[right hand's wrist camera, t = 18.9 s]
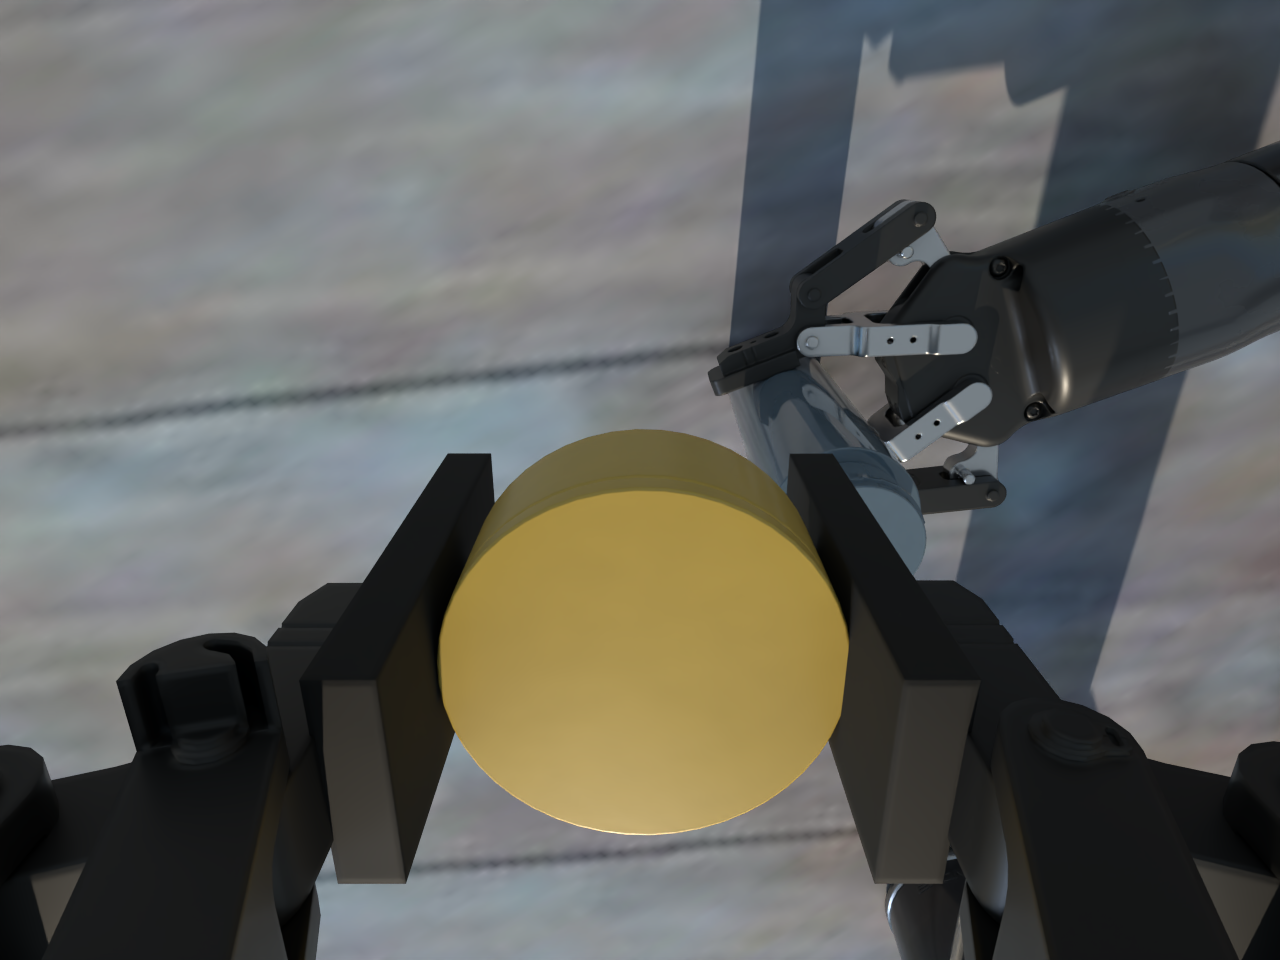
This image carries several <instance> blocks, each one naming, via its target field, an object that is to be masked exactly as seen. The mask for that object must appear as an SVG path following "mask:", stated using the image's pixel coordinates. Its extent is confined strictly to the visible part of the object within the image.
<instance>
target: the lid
mask: <svg viewBox="0 0 1280 960" xmlns="http://www.w3.org/2000/svg"><path fill="white" fill-rule="evenodd" d="M848 649H849V633H848V627H847V623H846V620H845V617H844V614H843V611H842V608H841V605H840V602H839V600H838V598H837V595H836V593H835V591H834V589H833V586H832V584H831V582H830V580H829V577H828V575H827V573H826V571H825V568H824V566H823V564H822V562H821V559H820V557H819V555H818V553H817V550H816V548H815V546H814V544H813V541H812V539H811V537H810V535H809V532H808V530H807V528H806V526H805V524H804V522H803V520H802V518H801V516H800V514H799V512H798V511H797V509H796V507H795V506H794V505H793V503H792V502H791V500H790V499H789V498H788V496H787V495H786V494H785V492H784V491H783V490H782V489H781V488H780V487H779V486H778V485H777V484H776V483H775V482H774V481H773V480H772V478H771V477H770V476H769V475H767V474H766V473H765V472H764V471H762V470H761V469H760V468H758V467H757V466H756V465H755V464H753V463H752V462H751V461H749V460H747V459H746V458H744V457H742V456H741V455H739V454H737V453H736V452H734V451H732V450H731V449H728V448H726V447H723V446H721V445H719V444H716V443H714V442H712V441H709V440H706V439H703V438H699V437H696V436H692V435H689V434H685V433H678V432H672V431H665V430H644V429H635V430H625V431H615V432H609V433H604V434H600V435H596V436H591V437H587V438H585V439H582V440H579V441H577V442H574V443H571V444H568V445H566V446H564V447H562V448H560V449H558V450H556V451H554V452H552V453H550V454H548V455H547V456H545V457H543V458H542V459H540V460H539V461H538V462H536V463H535V464H533V465H532V466H530V467H529V468H528V469H526V470H525V471H524V472H523V473H522V474H521V475H520V476H519V477H518V478H516V479H515V480H514V481H513V482H512V483H511V484H510V485H509V486H508V487H507V489H506V490H505V491H504V492H503V494H502V495H501V496H500V497H499V499H498V500H497V501H496V502H495V504H494V506H493V507H492V509H491V511H490V512H489V514H488V516H487V517H486V519H485V521H484V523H483V526H482V528H481V530H480V532H479V535H478V537H477V539H476V541H475V544H474V546H473V548H472V551H471V553H470V555H469V557H468V560H467V562H466V564H465V566H464V569H463V571H462V573H461V576H460V578H459V580H458V582H457V585H456V587H455V589H454V591H453V594H452V596H451V599H450V601H449V604H448V606H447V609H446V611H445V613H444V617H443V621H442V625H441V629H440V634H439V638H438V651H437V669H438V681H439V687H440V691H441V695H442V699H443V703H444V707H445V710H446V712H447V714H448V717H449V719H450V722H451V724H452V727H453V729H454V731H455V732H456V734H457V736H458V737H459V739H460V741H461V743H462V744H463V746H464V748H465V749H466V750H467V751H468V753H469V754H470V755H471V757H472V758H473V759H474V760H475V762H476V763H477V764H478V765H479V766H480V767H481V768H482V769H483V770H484V771H485V772H486V773H487V774H488V775H489V776H490V777H491V778H492V779H493V780H494V781H495V782H496V783H497V784H499V785H500V786H501V787H502V788H504V789H505V790H506V791H508V792H509V793H510V794H511V795H513V796H514V797H516V798H518V799H519V800H521V801H522V802H524V803H526V804H527V805H529V806H531V807H532V808H534V809H536V810H539V811H541V812H543V813H545V814H547V815H549V816H552V817H554V818H556V819H559V820H562V821H565V822H568V823H571V824H574V825H577V826H580V827H585V828H589V829H593V830H598V831H602V832H611V833H619V834H629V835H657V834H670V833H679V832H684V831H690V830H695V829H701V828H704V827H707V826H711V825H714V824H718V823H721V822H724V821H727V820H729V819H732V818H734V817H737V816H739V815H742V814H744V813H746V812H748V811H750V810H752V809H754V808H755V807H757V806H759V805H761V804H763V803H765V802H767V801H768V800H769V799H771V798H772V797H774V796H775V795H777V794H778V793H779V792H781V791H782V790H784V789H785V788H786V787H788V786H789V785H790V784H791V783H792V782H793V781H794V780H795V779H797V778H798V777H799V776H800V775H801V774H802V773H803V772H804V771H805V770H806V769H807V768H808V767H809V765H810V764H811V763H812V762H813V761H814V760H815V759H816V757H817V756H818V755H819V753H820V752H821V750H822V749H823V747H824V746H825V744H826V743H827V741H828V740H829V738H830V737H831V735H832V733H833V731H834V729H835V727H836V725H837V722H838V720H839V718H840V716H841V709H842V702H843V693H844V684H845V676H846V667H847V658H848Z"/></svg>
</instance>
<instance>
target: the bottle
mask: <svg viewBox="0 0 1280 960" xmlns="http://www.w3.org/2000/svg"><path fill="white" fill-rule="evenodd" d="M799 362H800V365H801V366H799V367H796V368H794V369H791V370H788V371H786V372H783V373H780V374H777V375H775V376H772V377H770V378H767V379H765V380H762V381H759V382H757V383H754V384H751V385H749V386H746V387H743V388H741V389H738V390H736V391H733V392H730V393H728V395H729V398H730V402H731V405H732V408H733V412H734V415H735V418H736V422H737V425H738V428H739V432H740V435H741V438H742V442H743V445H744V448H745V452H746V455H747V458H748V460H749V461H751V462H752V463H753V464H755V465H756V466H757V467H758V468H760V469H761V470H762V471H764V472H765V473H766V474H767V475H769V476H770V477H771V478H772V480H773V481H774V482H775V483H776V484H777V485H778V486H779V487H780V488H781V489H782V490H783V491H784V492H785V494H786V495H787V481H788V468H789V455H790V454H833V455H834V456H835V458H836V459H837V461H838V462H839V464H840V465H841V467H842V468H843V470H844V472H845V473H846V475H847V476H848V478H849V479H850V481H851V482H852V484H853V485H854V487H855V488H856V490H857V491H858V493H859V494H860V496H861V497H862V499H863V500H864V502H865V503H866V505H867V507H868V508H869V510H870V511H871V513H872V514H873V516H874V517H875V519H876V520H877V522H878V523H879V525H880V526H881V528H882V529H883V531H884V532H885V534H886V535H887V537H888V538H889V540H890V542H891V543H892V545H893V546H894V548H895V549H896V551H897V552H898V554H899V555H900V557H901V558H902V560H903V561H904V563H905V564H906V566H907V567H908V569H909V570H910V572H911V574H912V575H914V574H915V572H916V571H917V569H918V568H919V566H920V564H921V562H922V559H923V556H924V553H925V548H926V530H925V526H924V523H925V521H924V518H923V515H922V513H921V504H920V497H919V493H918V490H917V487H916V485H915V483H914V481H913V479H912V478H911V476H910V474H909V473H908V472H907V471H906V469H905V468H904V467H903V466H902V464H901V463H900V462H899V461H898V460H897V458H896V457H895V456H894V455H893V453H892V452H891V451H890V450H889V448H888V447H887V446H886V445H885V443H884V442H883V441H882V440H881V438H880V437H879V436H878V435H877V434H876V432H875V431H874V430H873V429H872V427H871V426H870V425H869V424H868V422H867V421H866V420H865V419H864V417H863V416H862V415H861V414H860V412H859V411H858V410H857V409H856V408H855V406H854V405H853V404H852V403H851V401H850V400H849V399H848V398H847V396H846V395H845V394H844V393H843V391H842V390H841V389H840V388H839V386H838V385H837V384H836V383H835V382H834V380H833V379H832V378H831V377H830V375H829V374H828V373H827V372H826V370H825V369H824V368H823V367H822V365H821V364H820V363H819V362H818V360H817V359H816V358H815V357H807V356H806V357H803V358H800V359H799Z"/></svg>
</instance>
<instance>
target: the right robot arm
mask: <svg viewBox="0 0 1280 960" xmlns="http://www.w3.org/2000/svg"><path fill="white" fill-rule="evenodd" d="M787 496H788V498H789V499H790V500H791V502H792V503H793V505H794V506H795V507H796V509H797V511H798V512H799V514H800V516H801V518H802V520H803V522H804V524H805V526H806V528H807V530H808V532H809V535H810V537H811V539H812V541H813V544H814V546H815V548H816V550H817V553H818V555H819V557H820V559H821V562H822V564H823V566H824V568H825V571H826V573H827V575H828V577H829V580H830V582H831V584H832V586H833V589H834V591H835V593H836V595H837V598H838V600H839V602H840V605H841V608H842V611H843V614H844V617H845V620H846V623H847V627H848V633H849V649H848V658H847V667H846V676H845V684H844V693H843V702H842V709H841V716H840V718H839V720H838V722H837V725H836V727H835V729H834V731H833V733H832V735H831V737H830V738H829V740H828V741H829V744H830V747H831V750H832V753H833V756H834V760H835V763H836V766H837V769H838V772H839V775H840V778H841V781H842V784H843V787H844V790H845V793H846V797H847V800H848V803H849V806H850V809H851V812H852V815H853V818H854V821H855V824H856V827H857V831H858V834H859V837H860V840H861V843H862V846H863V849H864V852H865V855H866V858H867V861H868V864H869V868H870V871H871V874H872V877H873V880H874V883H875V884H943V878H944V873H945V868H946V863H947V858H948V852H949V847H950V845H951V847H952V849H953V851H954V853H955V856H956V858H957V860H958V862H959V865H960V867H961V869H962V871H963V873H964V876H965V878H966V880H965V885H964V890H963V895H962V900H961V904H960V909H959V914H958V919H957V924H956V929H955V933H954V938H953V943H952V948H951V955H950V960H962V956H963V951H964V958H965V960H1280V742H1275V741H1272V742H1265V743H1257V744H1251V745H1250V746H1248V747H1247V748H1246V749H1245V750H1243V751H1242V752H1241V753H1239V755H1238V758H1237V761H1236V764H1235V767H1234V769H1233V772H1232V775H1231V777H1228V776H1223V775H1218V774H1213V773H1209V772H1204V771H1199V770H1194V769H1190V768H1185V767H1180V766H1175V765H1170V764H1166V763H1162V762H1158V761H1155V760H1151V759H1147V757H1146V755H1145V753H1144V751H1143V749H1142V748H1141V747H1140V745H1139V744H1138V743H1137V741H1136V740H1135V739H1134V737H1133V736H1132V735H1131V733H1129V732H1128V731H1127V730H1125V729H1124V728H1123V727H1121V726H1120V725H1119V724H1117V723H1116V722H1114V721H1113V720H1112V719H1110V718H1109V717H1107V716H1105V715H1103V714H1100V713H1098V712H1096V711H1094V710H1092V709H1090V708H1087V707H1085V706H1083V705H1079V704H1075V703H1071V702H1067V701H1063V700H1061V699H1060V698H1059V697H1058V695H1057V694H1056V693H1055V692H1054V690H1053V689H1052V688H1051V687H1050V685H1049V684H1048V683H1047V681H1046V680H1045V679H1044V678H1043V676H1042V675H1041V674H1040V672H1039V671H1038V670H1037V669H1036V667H1035V666H1034V665H1033V663H1032V662H1031V661H1030V660H1029V658H1028V657H1027V656H1026V654H1025V653H1024V652H1023V651H1022V649H1021V648H1020V647H1019V646H1018V644H1014V642H1013V638H1012V637H1011V635H1010V634H1009V633H1008V631H1007V630H1006V629H1005V628H1004V626H1003V625H999V620H998V619H997V617H996V616H995V615H994V613H993V612H992V611H991V610H990V608H989V607H988V606H987V604H986V603H985V602H984V601H983V599H981V598H980V597H978V596H977V595H975V594H974V593H972V592H970V591H969V590H967V589H966V588H964V587H963V586H961V585H959V584H958V583H956V582H955V581H916V580H915V578H914V577H913V575H912V574H911V572H910V570H909V569H908V567H907V566H906V564H905V563H904V561H903V560H902V558H901V557H900V555H899V554H898V552H897V551H896V549H895V548H894V546H893V545H892V543H891V542H890V540H889V538H888V537H887V535H886V534H885V532H884V531H883V529H882V528H881V526H880V525H879V523H878V522H877V520H876V519H875V517H874V516H873V514H872V513H871V511H870V510H869V508H868V507H867V505H866V503H865V502H864V500H863V499H862V497H861V496H860V494H859V493H858V491H857V490H856V488H855V487H854V485H853V484H852V482H851V481H850V479H849V478H848V476H847V475H846V473H845V472H844V470H843V468H842V467H841V465H840V464H839V462H838V461H837V459H836V458H835V456H834V455H833V454H790V455H789V468H788V481H787ZM494 504H495V501H494V488H493V474H492V461H491V454H447V456H446V457H445V459H444V460H443V462H442V463H441V465H440V466H439V468H438V469H437V471H436V472H435V474H434V475H433V477H432V478H431V480H430V481H429V483H428V485H427V486H426V488H425V489H424V491H423V492H422V494H421V495H420V497H419V498H418V500H417V501H416V503H415V504H414V506H413V507H412V509H411V510H410V512H409V513H408V515H407V516H406V518H405V520H404V521H403V523H402V524H401V526H400V527H399V529H398V530H397V532H396V533H395V535H394V536H393V538H392V539H391V541H390V542H389V544H388V545H387V547H386V548H385V550H384V552H383V553H382V555H381V556H380V558H379V559H378V561H377V562H376V564H375V565H374V567H373V568H372V570H371V571H370V573H369V574H368V576H367V577H366V579H365V580H364V582H363V583H327V584H325V585H324V586H322V587H321V588H319V589H318V590H316V591H315V592H313V593H312V594H310V595H308V596H307V597H305V598H304V599H302V600H301V601H299V602H298V603H297V605H296V606H295V607H294V609H293V610H292V611H291V612H290V614H289V615H288V616H287V618H286V619H285V620H284V621H283V623H282V628H278V629H277V630H276V632H275V633H274V634H273V636H272V637H271V638H270V640H269V641H268V646H265V645H264V644H262V643H261V642H260V641H259V640H257V639H256V638H255V637H252V636H247V635H242V634H238V633H214V634H205V635H201V636H196V637H192V638H187V639H182V640H179V641H177V642H174V643H172V644H169V645H167V646H164V647H162V648H159V649H156V650H154V651H152V652H151V653H149V654H147V655H146V656H144V657H143V658H141V659H139V660H138V661H136V662H135V663H133V664H132V665H130V666H129V667H128V669H127V670H126V671H125V672H124V673H123V674H122V675H121V676H120V678H119V679H118V680H117V681H116V683H117V686H118V689H119V693H120V696H121V700H122V703H123V706H124V710H125V713H126V717H127V720H128V723H129V727H130V730H131V733H132V737H133V740H134V744H135V747H136V750H137V752H136V754H135V757H134V759H133V761H132V762H131V763H128V764H124V765H121V766H117V767H112V768H108V769H103V770H98V771H93V772H89V773H84V774H79V775H74V776H70V777H65V778H60V779H55V780H51V779H50V776H49V773H48V770H47V767H46V764H45V762H44V759H43V757H42V756H41V755H39V754H38V753H37V752H35V751H34V750H33V749H32V748H29V747H21V746H14V745H3V746H0V960H316V952H317V943H318V934H319V925H320V917H321V914H320V907H319V900H318V895H317V890H316V885H315V881H316V879H317V877H318V874H319V872H320V870H321V868H322V865H323V863H324V861H325V859H326V857H327V854H328V852H329V850H330V848H331V850H332V855H333V860H334V865H335V871H336V876H337V881H338V884H406V882H407V878H408V875H409V872H410V869H411V866H412V863H413V860H414V857H415V854H416V851H417V848H418V844H419V841H420V838H421V835H422V832H423V829H424V826H425V823H426V820H427V817H428V814H429V811H430V807H431V804H432V801H433V798H434V795H435V792H436V789H437V786H438V783H439V780H440V777H441V773H442V770H443V767H444V764H445V761H446V758H447V755H448V752H449V749H450V746H451V743H452V740H453V736H454V733H455V731H454V729H453V727H452V724H451V722H450V719H449V717H448V714H447V712H446V710H445V707H444V703H443V699H442V695H441V691H440V687H439V681H438V669H437V651H438V638H439V634H440V629H441V625H442V621H443V617H444V613H445V611H446V609H447V606H448V604H449V601H450V599H451V596H452V594H453V591H454V589H455V587H456V585H457V582H458V580H459V578H460V576H461V573H462V571H463V569H464V566H465V564H466V562H467V560H468V557H469V555H470V553H471V551H472V548H473V546H474V544H475V541H476V539H477V537H478V535H479V532H480V530H481V528H482V526H483V523H484V521H485V519H486V517H487V516H488V514H489V512H490V511H491V509H492V507H493V506H494Z"/></svg>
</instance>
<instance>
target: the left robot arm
mask: <svg viewBox="0 0 1280 960" xmlns="http://www.w3.org/2000/svg"><path fill="white" fill-rule="evenodd" d="M935 221H936V212H935V210H934V208H933V207H932V206H931V205H930V204H928V203H926V202H919V201H912V200H899V201H897V202H895V203H894V204H892V205H891V206H889V207H888V208H887V209H885V210H884V211H882V212H881V213H880V214H878V215H877V216H876V217H874V218H873V219H871V220H870V221H869V222H867V223H866V224H865V225H863V226H862V227H860V228H859V229H858V230H856V231H855V232H854V233H852V234H851V235H849V236H848V237H847V238H845V239H844V240H843V241H841V242H840V243H838V244H837V245H836V246H834V247H833V248H832V249H830V250H829V251H827V252H826V253H825V254H823V255H822V256H821V257H819V258H818V259H816V260H815V261H814V262H812V263H811V264H810V265H808V266H807V267H805V268H804V269H803V270H801V271H800V272H799V273H797V274H796V275H795V276H794V277H793V278H792V279H791V282H790V286H789V288H790V292H791V311H790V316H789V318H788V320H787V322H786V323H785V324H784V325H783V326H781V327H780V328H778V329H775V330H773V331H770V332H767V333H765V334H762V335H760V336H757V337H755V338H752V339H749V340H748V341H744V342H742V343H740V344H737V345H734V346H731V347H729V348H726V349H725V350H724V351H723V352H722V353H721V354H720V355H719V356H717V360H718V363H719V366H717V367H715V368H713V369H711V370H710V371H709V372H708V376H709V380H710V383H711V385H712V388H713V391H714V393H715V395H716V396H721V395H725V394H728V393H730V392H733V391H736V390H738V389H741V388H743V387H746V386H749V385H751V384H754V383H757V382H759V381H762V380H765V379H767V378H770V377H772V376H775V375H777V374H780V373H783V372H786V371H788V370H791V369H794V368H796V367H799V366H801V365H800V362H799V359H800V358H803V357H806V356H807V357H822V356H842V355H855V356H860V357H875V360H876V361H877V363H878V364H879V366H880V367H881V369H882V370H883V372H884V374H885V393H886V396H887V400H888V404H886V405H885V406H884V407H882V408H881V409H880V410H878V411H877V412H876V413H874V414H873V415H872V416H871V417H870V418H869V419H868V421H867V422H868V424H869V425H870V426H871V427H872V429H873V430H874V431H875V432H876V434H877V435H878V436H879V437H880V438H881V440H882V441H883V442H884V443H885V445H886V446H887V447H888V448H889V450H890V451H891V452H892V453H893V455H894V456H895V457H896V458H897V460H898V461H899V462H900V463H901V462H905V461H907V460H909V459H911V458H912V457H914V456H915V455H916V454H918V453H919V452H920V451H922V450H923V449H925V448H926V447H927V446H929V445H930V444H931V443H933V442H934V441H936V440H937V439H938V438H940V437H943V438H947V439H951V440H956V441H960V442H964V443H968V444H969V445H968V447H967V448H966V449H965V450H964V451H963V452H961V453H959V454H955V455H952V456H950V457H948V458H947V459H946V461H945V463H944V465H943V466H936V467H927V468H918V469H908V470H906V471H907V472H908V473H909V474H910V476H911V478H912V479H913V481H914V483H915V485H916V487H917V490H918V493H919V497H920V504H921V513H922V515H924V514H934V513H943V512H953V511H962V510H972V509H982V508H991V507H996V506H998V505H1000V504H1001V503H1002V502H1003V501H1004V499H1005V497H1006V488H1005V487H1004V486H1003V485H1002V484H1001V483H1000V482H999V480H998V478H997V471H998V447H999V444H1001V443H1003V442H1005V441H1006V440H1007V439H1008V438H1009V437H1010V436H1011V435H1012V434H1013V433H1015V432H1016V431H1017V430H1018V429H1019V428H1021V427H1022V426H1024V425H1026V424H1027V423H1029V422H1032V421H1036V420H1040V419H1044V418H1049V417H1053V416H1057V415H1060V414H1063V413H1066V412H1069V411H1072V410H1074V409H1077V408H1080V407H1083V406H1086V405H1089V404H1091V403H1094V402H1097V401H1100V400H1103V399H1106V398H1108V397H1111V396H1114V395H1117V394H1120V393H1123V392H1125V391H1128V390H1131V389H1134V388H1137V387H1140V386H1142V385H1145V384H1148V383H1151V382H1154V381H1157V380H1159V379H1162V378H1165V377H1168V376H1170V375H1173V374H1176V373H1179V372H1182V371H1185V370H1188V369H1191V368H1194V367H1196V366H1199V365H1202V364H1205V363H1208V362H1211V361H1214V360H1216V359H1219V358H1221V357H1224V356H1226V355H1229V354H1231V353H1233V352H1235V351H1237V350H1239V349H1241V348H1243V347H1245V346H1247V345H1249V344H1251V343H1253V342H1255V341H1257V340H1259V339H1261V338H1263V337H1265V336H1267V335H1270V334H1272V333H1275V332H1277V331H1280V141H1278V142H1275V143H1272V144H1270V145H1267V146H1265V147H1262V148H1260V149H1257V150H1254V151H1252V152H1249V153H1247V154H1244V155H1242V156H1239V157H1236V158H1234V159H1231V160H1229V161H1226V162H1224V163H1221V164H1218V165H1215V166H1213V167H1210V168H1206V169H1202V170H1198V171H1195V172H1190V173H1186V174H1182V175H1178V176H1174V177H1171V178H1167V179H1164V180H1161V181H1158V182H1155V183H1153V184H1150V185H1147V186H1144V187H1142V188H1139V189H1136V190H1131V191H1128V190H1127V191H1124V192H1121V193H1118V194H1116V195H1113V196H1111V197H1109V198H1107V199H1105V201H1103V202H1101V203H1100V204H1098V205H1095V206H1093V207H1090V208H1088V209H1085V210H1083V211H1080V212H1077V213H1075V214H1072V215H1070V216H1067V217H1065V218H1062V219H1059V220H1057V221H1054V222H1052V223H1049V224H1047V225H1044V226H1041V227H1039V228H1036V229H1034V230H1031V231H1029V232H1026V233H1024V234H1021V235H1018V236H1016V237H1013V238H1011V239H1008V240H1006V241H1003V242H1000V243H998V244H995V245H993V246H990V247H988V248H985V249H983V250H980V251H977V252H971V253H959V252H953V251H948V249H947V247H946V246H945V244H944V242H943V241H942V239H941V237H940V236H939V234H938V232H937V231H936V229H935V227H934V224H935ZM886 261H887V262H889V263H891V264H894V265H896V266H905V265H907V264H909V263H911V262H914V261H920V262H921V263H922V264H923V265H922V266H921V268H920V269H919V271H918V272H917V273H916V275H915V276H914V277H913V279H912V280H911V281H910V283H909V284H908V285H907V287H906V288H905V289H904V291H903V292H902V294H901V295H900V296H899V298H898V299H897V300H896V302H895V303H894V304H893V306H892V307H891V308H890V310H885V311H865V312H848V313H844V314H842V315H830V316H826V304H827V303H828V302H830V301H831V300H833V299H834V298H836V297H837V296H838V295H840V294H841V293H843V292H844V291H845V290H847V289H848V288H850V287H851V286H852V285H854V284H855V283H857V282H858V281H859V280H861V279H862V278H864V277H865V276H867V275H868V274H869V273H871V272H872V271H874V270H875V269H876V268H878V267H879V266H881V265H882V264H883V263H885V262H886ZM965 880H966V878H965V876H964V873H963V871H962V869H961V867H960V865H959V862H958V860H957V858H956V856H955V853H954V851H953V849H949V852H948V858H947V863H946V868H945V873H944V878H943V884H891V886H890V888H889V890H888V892H887V895H886V900H885V911H886V916H887V919H888V922H889V926H890V929H891V931H892V933H893V934H894V937H895V940H896V943H897V947H898V950H899V953H900V956H901V960H950V955H951V948H952V943H953V938H954V933H955V929H956V924H957V919H958V914H959V909H960V904H961V900H962V895H963V890H964V885H965ZM962 960H965V958H964V951H963V956H962Z"/></svg>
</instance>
